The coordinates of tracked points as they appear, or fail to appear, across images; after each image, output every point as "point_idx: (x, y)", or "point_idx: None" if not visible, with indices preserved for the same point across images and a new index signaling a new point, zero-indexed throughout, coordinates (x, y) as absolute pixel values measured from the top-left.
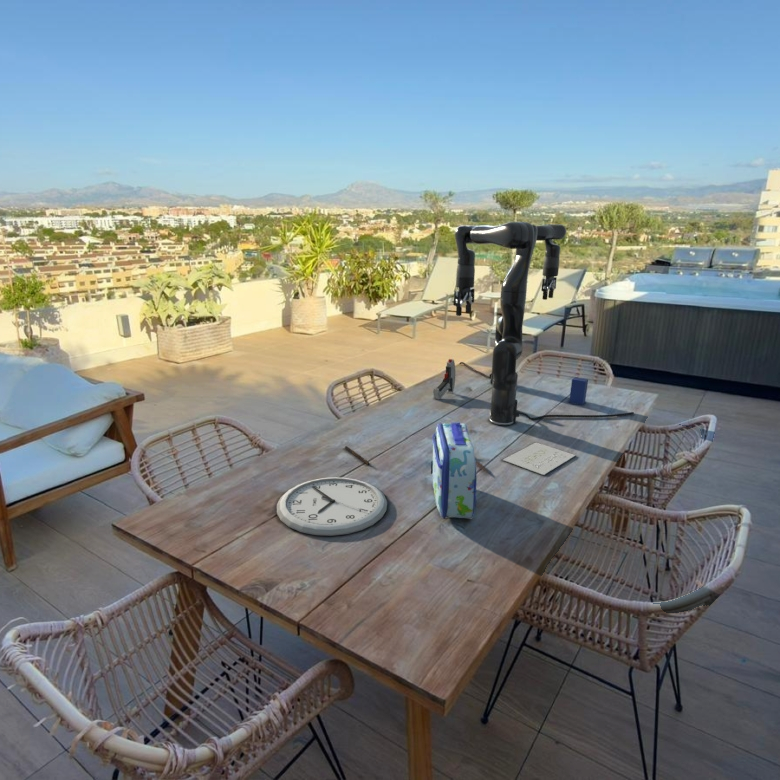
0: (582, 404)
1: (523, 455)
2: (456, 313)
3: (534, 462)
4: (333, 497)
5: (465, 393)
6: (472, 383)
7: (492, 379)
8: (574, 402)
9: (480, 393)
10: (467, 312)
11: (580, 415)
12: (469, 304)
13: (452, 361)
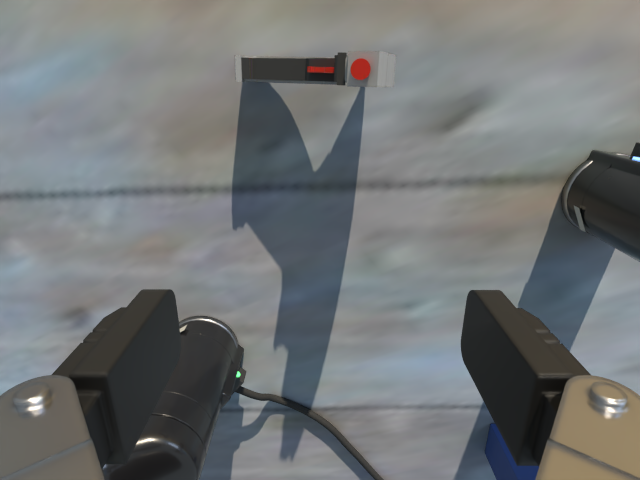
0: (486, 453)
1: None
2: (108, 321)
3: None
4: None
5: (395, 129)
6: (554, 82)
7: (600, 161)
8: (489, 438)
9: (430, 177)
10: (468, 322)
11: (373, 477)
12: (536, 449)
13: (362, 85)
